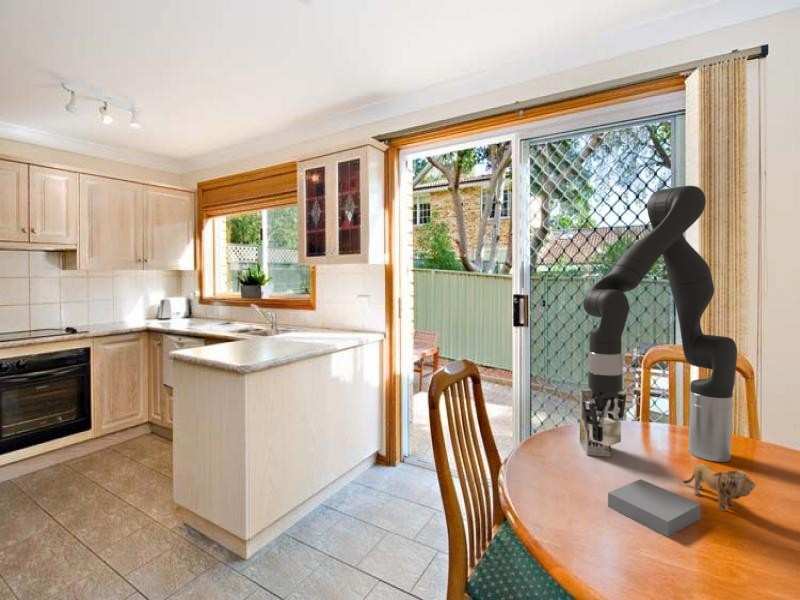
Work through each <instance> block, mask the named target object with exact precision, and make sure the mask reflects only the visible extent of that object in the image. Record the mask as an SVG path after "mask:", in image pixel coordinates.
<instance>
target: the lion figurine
mask: <svg viewBox="0 0 800 600" xmlns="http://www.w3.org/2000/svg"><path fill="white" fill-rule="evenodd" d="M693 480H694V484H693V489H694V491H693V494H694V496H699V497H700V496H701V495H702V494H701V492H700V491H699V490H703V486H702V485H701V484H702V483H703V482H705V484H706V486H708V487H709V488H710V489H711V490H714V491H715V492H717V493H716V494H717V499H718V509H719V511H721V512H727V508H729V509H730V510H734V509H735V508H736V507H735V505H734V504H732V501H733V500H738V499H739V500H740V498H741V497H742V498H743V497H748V496H749V495H750V494H751V493H752V492H753V490H754V489H755V488H756V485H757V484H756V482H754V481H752V480H751V478H750V477H749V475H748V474H747V472H745V471H743V470H731V471H730V470H729V471H720V472H715V471H713V469H711V467H710V466H709V465H707V464H704V463H697V464H696V465H695V467H694V468H693V472H692V475H691V478H689V479H686V480H683V481H682V482H683V483H684V484H690V483H691V482H692V481H693ZM726 507H727V508H726Z"/></svg>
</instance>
